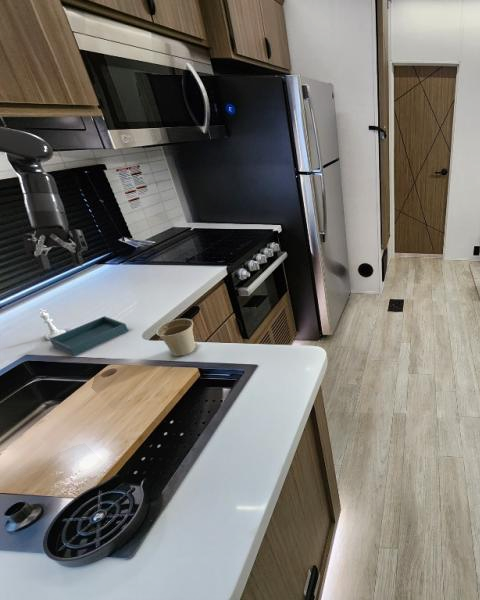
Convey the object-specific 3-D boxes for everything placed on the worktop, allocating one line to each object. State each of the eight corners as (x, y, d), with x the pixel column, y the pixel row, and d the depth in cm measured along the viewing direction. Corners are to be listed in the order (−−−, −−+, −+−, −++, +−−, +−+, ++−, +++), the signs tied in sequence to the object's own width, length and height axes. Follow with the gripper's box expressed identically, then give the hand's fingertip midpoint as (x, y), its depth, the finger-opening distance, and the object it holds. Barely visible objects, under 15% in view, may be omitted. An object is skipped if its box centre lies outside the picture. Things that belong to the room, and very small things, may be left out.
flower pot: (186, 361, 96) (176, 337, 92) (158, 358, 98) (147, 334, 94) (208, 343, 105) (200, 319, 101) (182, 340, 106) (173, 317, 102)
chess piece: (42, 338, 108) (25, 312, 103) (59, 330, 112) (44, 304, 107) (53, 340, 107) (37, 313, 102) (70, 332, 111) (55, 306, 106)
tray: (74, 356, 99) (69, 348, 98) (53, 346, 104) (49, 338, 103) (128, 330, 111) (125, 323, 110) (107, 322, 116) (104, 316, 115)
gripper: (4, 212, 90) (23, 271, 93) (63, 207, 92) (79, 265, 95) (30, 214, 97) (47, 269, 100) (84, 210, 99) (98, 264, 102)
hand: (62, 267), depth 97 cm, fingers open, 8 cm apart
